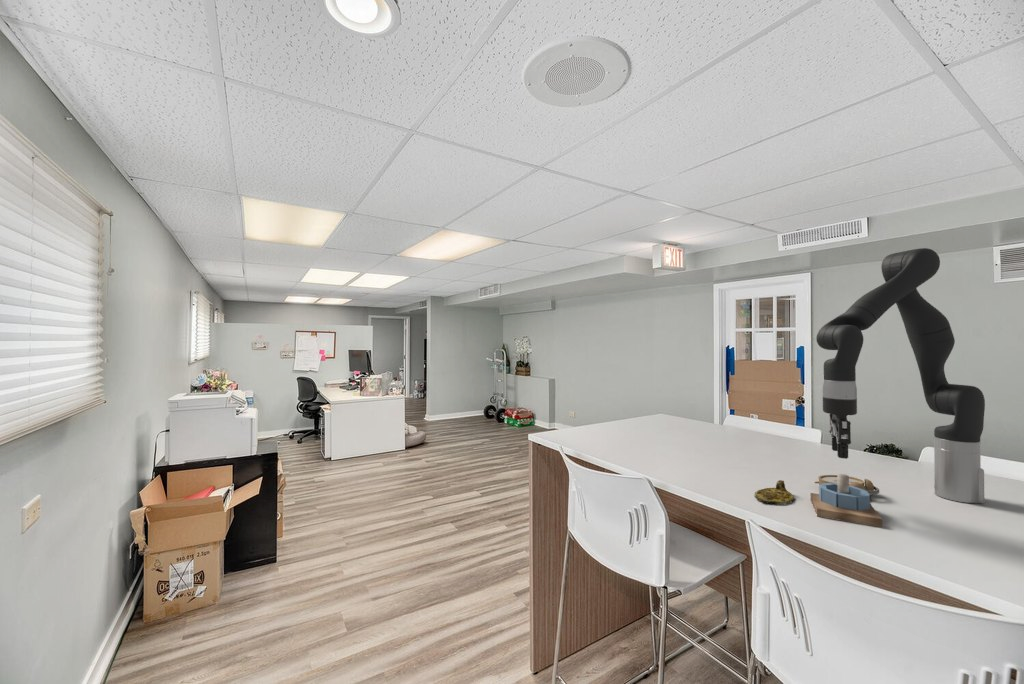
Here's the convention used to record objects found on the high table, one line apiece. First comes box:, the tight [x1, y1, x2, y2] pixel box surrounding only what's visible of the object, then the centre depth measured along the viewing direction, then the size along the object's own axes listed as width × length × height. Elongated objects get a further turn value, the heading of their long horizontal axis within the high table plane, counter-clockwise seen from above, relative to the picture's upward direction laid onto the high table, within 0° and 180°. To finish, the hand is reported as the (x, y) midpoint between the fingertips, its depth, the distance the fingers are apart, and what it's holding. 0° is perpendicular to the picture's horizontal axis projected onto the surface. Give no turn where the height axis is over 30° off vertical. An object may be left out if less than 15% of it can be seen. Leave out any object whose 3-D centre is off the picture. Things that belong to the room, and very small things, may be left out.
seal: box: [753, 479, 795, 506], centre depth 121 cm, size 9×5×15 cm
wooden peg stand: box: [810, 473, 883, 528], centre depth 111 cm, size 13×13×10 cm
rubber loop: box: [818, 483, 871, 511], centre depth 113 cm, size 10×10×4 cm
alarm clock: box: [814, 474, 880, 496], centre depth 126 cm, size 11×5×15 cm
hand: (839, 454), depth 115 cm, fingers open, 8 cm apart
